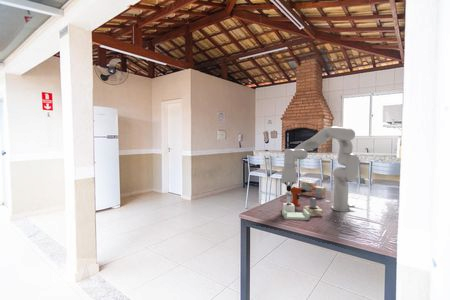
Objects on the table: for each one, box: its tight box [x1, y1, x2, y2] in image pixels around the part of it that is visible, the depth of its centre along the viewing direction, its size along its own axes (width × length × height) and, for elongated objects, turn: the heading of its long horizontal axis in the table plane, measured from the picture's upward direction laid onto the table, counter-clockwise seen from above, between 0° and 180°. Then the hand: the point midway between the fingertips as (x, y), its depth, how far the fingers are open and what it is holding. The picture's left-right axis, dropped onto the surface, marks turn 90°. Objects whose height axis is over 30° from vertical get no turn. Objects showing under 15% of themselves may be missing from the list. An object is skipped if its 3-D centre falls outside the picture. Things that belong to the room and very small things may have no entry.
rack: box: [281, 208, 311, 221], centre depth 153 cm, size 16×10×4 cm, turn 86°
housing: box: [282, 202, 296, 212], centre depth 165 cm, size 7×7×5 cm
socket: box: [303, 205, 324, 217], centre depth 160 cm, size 10×10×4 cm
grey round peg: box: [309, 197, 317, 209], centre depth 160 cm, size 4×4×11 cm
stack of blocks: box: [300, 180, 327, 199], centre depth 211 cm, size 21×6×12 cm, turn 37°
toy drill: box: [290, 186, 312, 207], centre depth 177 cm, size 5×19×15 cm, turn 42°
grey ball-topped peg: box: [285, 191, 293, 205], centre depth 165 cm, size 4×4×10 cm
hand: (288, 191), depth 165 cm, fingers closed
